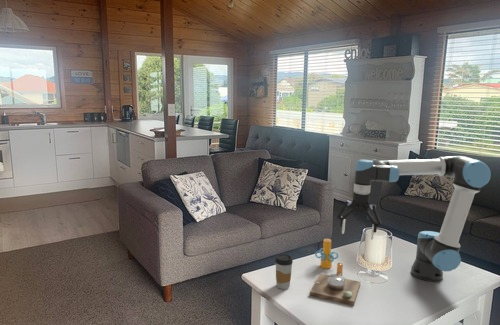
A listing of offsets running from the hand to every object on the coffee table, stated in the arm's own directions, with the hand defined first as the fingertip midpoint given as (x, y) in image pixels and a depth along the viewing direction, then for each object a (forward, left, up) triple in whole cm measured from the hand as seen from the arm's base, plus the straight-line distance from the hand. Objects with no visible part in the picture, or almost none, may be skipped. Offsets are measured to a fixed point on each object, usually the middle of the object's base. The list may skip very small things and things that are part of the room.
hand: (357, 235), depth 185 cm
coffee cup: (+31, +16, -26) cm, 43 cm away
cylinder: (+17, -15, -26) cm, 34 cm away
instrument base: (+7, +9, -26) cm, 28 cm away
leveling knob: (+7, +6, -23) cm, 25 cm away
